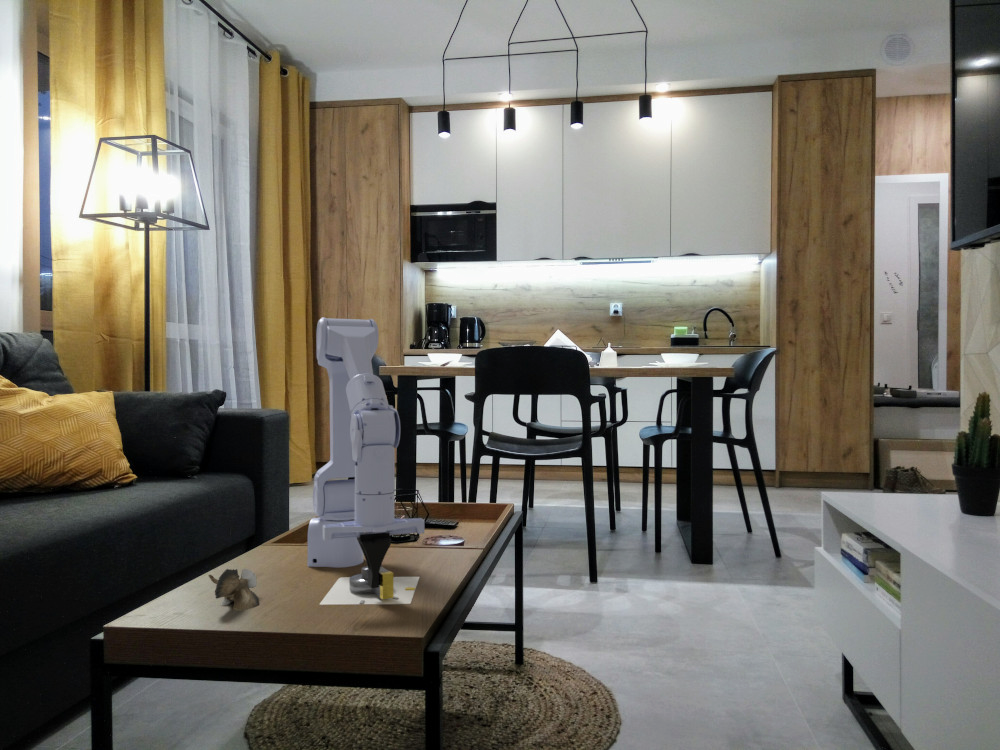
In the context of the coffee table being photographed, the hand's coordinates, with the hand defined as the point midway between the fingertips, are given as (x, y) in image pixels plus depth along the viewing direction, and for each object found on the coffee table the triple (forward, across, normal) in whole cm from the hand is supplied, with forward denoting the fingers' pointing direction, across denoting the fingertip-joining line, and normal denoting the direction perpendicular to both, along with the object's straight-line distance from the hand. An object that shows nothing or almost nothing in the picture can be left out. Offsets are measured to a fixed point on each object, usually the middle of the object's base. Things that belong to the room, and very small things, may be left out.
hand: (374, 586), depth 100 cm
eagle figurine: (+3, -19, +6) cm, 20 cm away
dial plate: (+3, +1, +5) cm, 6 cm away
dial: (+2, +1, +4) cm, 4 cm away
